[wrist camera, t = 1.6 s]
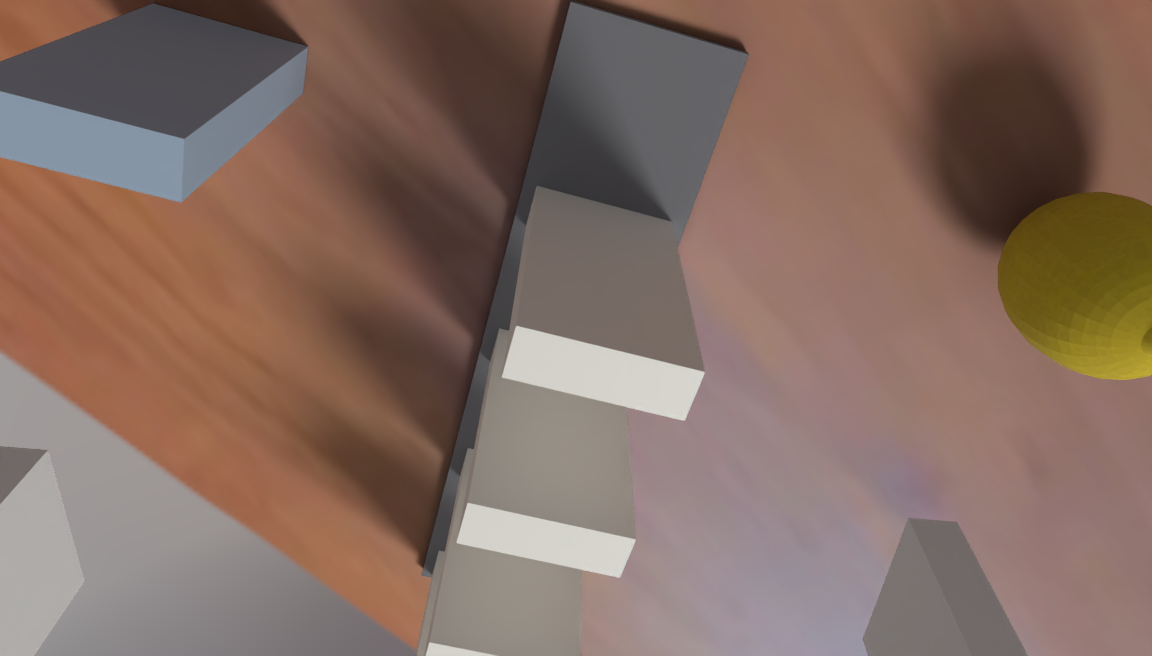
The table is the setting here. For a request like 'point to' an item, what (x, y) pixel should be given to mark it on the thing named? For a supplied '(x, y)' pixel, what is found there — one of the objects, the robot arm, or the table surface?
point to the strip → (608, 155)
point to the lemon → (1084, 283)
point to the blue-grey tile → (146, 99)
